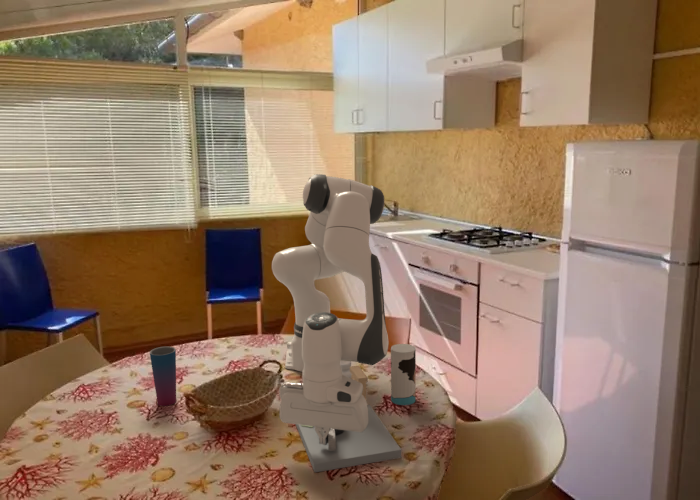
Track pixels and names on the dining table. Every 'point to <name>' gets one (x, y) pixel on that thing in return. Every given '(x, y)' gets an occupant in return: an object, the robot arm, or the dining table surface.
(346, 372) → the pill bottle
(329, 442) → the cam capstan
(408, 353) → the cup
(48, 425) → the dining table surface
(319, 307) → the robot arm
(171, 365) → the cup
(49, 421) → the dining table surface
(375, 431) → the stand base
